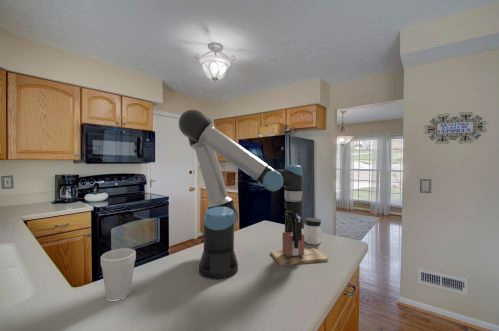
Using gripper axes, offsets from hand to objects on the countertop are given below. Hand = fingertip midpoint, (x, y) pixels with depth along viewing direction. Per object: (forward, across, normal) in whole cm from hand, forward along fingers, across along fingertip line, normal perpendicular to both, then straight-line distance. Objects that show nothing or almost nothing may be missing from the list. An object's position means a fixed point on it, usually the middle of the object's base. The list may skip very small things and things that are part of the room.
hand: (292, 252), depth 101 cm
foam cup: (+2, -16, +65) cm, 67 cm away
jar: (+3, +17, -19) cm, 26 cm away
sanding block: (+1, 0, 0) cm, 1 cm away
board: (+3, 0, -3) cm, 4 cm away
